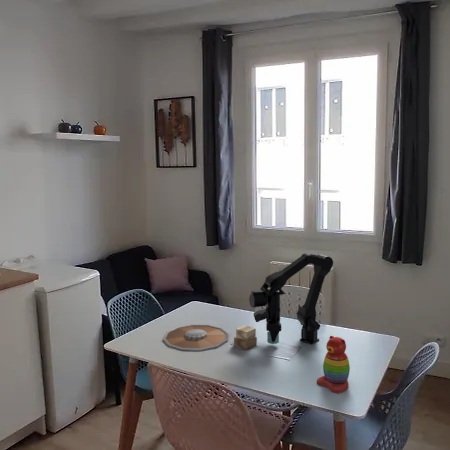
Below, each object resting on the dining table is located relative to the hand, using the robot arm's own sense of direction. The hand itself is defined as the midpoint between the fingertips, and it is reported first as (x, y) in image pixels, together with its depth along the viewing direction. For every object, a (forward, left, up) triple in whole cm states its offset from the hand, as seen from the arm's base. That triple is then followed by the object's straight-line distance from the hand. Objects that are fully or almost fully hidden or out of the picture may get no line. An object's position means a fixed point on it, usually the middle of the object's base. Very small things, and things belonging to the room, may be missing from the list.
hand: (273, 339), depth 207 cm
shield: (+31, +17, -4) cm, 35 cm away
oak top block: (+9, +8, +1) cm, 12 cm away
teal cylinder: (0, 0, -1) cm, 1 cm away
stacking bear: (-38, +12, -3) cm, 40 cm away
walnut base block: (+9, +8, -3) cm, 13 cm away
